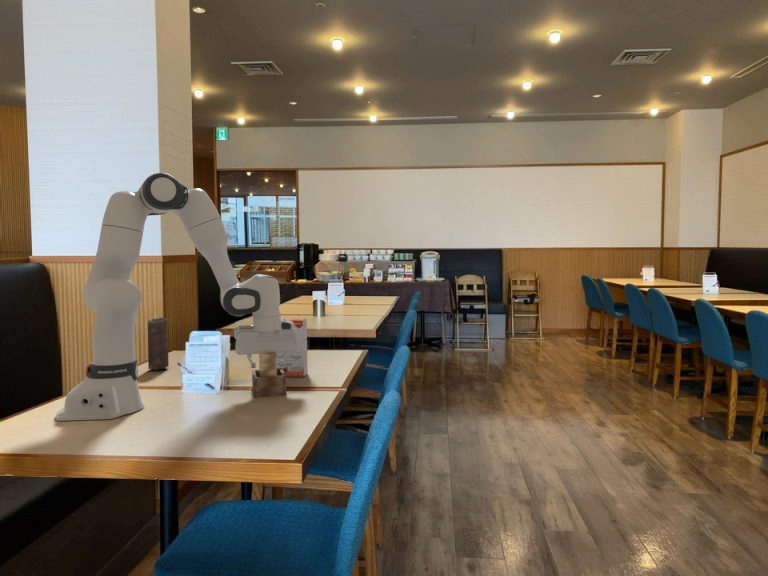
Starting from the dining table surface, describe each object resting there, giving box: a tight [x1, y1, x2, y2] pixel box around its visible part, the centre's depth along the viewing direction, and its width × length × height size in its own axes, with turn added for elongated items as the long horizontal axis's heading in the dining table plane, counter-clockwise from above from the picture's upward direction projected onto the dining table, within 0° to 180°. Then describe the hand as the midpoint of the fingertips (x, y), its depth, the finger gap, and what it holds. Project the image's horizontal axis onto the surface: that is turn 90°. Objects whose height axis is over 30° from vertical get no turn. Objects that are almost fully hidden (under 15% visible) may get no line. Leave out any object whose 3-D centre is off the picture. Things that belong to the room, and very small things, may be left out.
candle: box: [147, 317, 170, 371], centre depth 218 cm, size 8×7×20 cm
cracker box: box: [276, 317, 309, 378], centre depth 204 cm, size 14×6×21 cm, turn 83°
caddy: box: [251, 368, 287, 398], centre depth 182 cm, size 10×13×6 cm
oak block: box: [258, 352, 277, 377], centre depth 182 cm, size 5×8×12 cm, turn 15°
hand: (268, 366), depth 182 cm, fingers open, 8 cm apart
